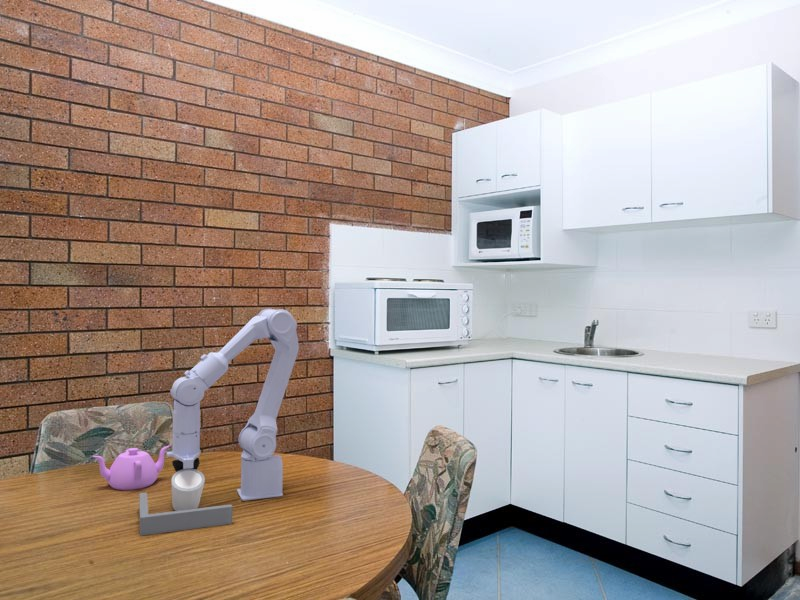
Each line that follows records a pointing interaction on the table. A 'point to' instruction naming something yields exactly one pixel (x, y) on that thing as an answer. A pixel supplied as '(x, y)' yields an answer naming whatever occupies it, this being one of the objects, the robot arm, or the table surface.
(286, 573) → the table surface
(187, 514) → the l-shaped bracket
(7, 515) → the table surface
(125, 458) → the teapot
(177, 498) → the shot glass
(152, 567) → the table surface
